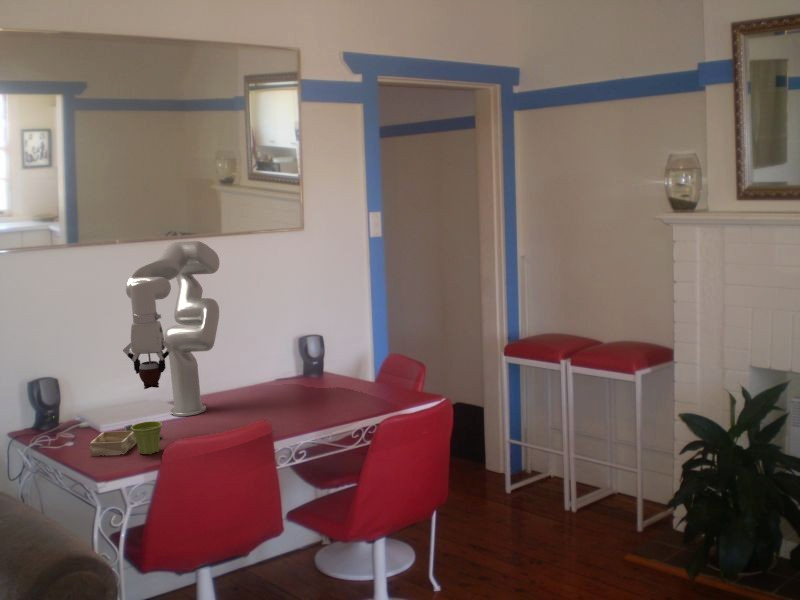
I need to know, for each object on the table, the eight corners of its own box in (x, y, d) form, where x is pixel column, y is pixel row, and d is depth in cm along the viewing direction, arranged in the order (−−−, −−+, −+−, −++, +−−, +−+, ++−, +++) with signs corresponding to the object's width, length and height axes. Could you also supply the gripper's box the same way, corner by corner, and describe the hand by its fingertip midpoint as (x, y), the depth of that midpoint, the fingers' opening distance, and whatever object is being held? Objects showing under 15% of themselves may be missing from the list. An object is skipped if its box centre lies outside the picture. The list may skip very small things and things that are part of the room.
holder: (104, 443, 306) (103, 431, 306) (136, 442, 306) (135, 430, 305) (90, 455, 295) (89, 443, 294) (124, 454, 294) (122, 442, 293)
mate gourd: (151, 390, 303) (147, 344, 301) (133, 388, 307) (129, 343, 305) (168, 384, 310) (163, 339, 307) (150, 382, 314) (146, 338, 311)
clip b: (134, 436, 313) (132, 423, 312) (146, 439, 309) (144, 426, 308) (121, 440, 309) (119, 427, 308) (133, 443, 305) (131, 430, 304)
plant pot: (137, 448, 300) (134, 422, 298) (167, 446, 300) (164, 419, 299) (131, 458, 291) (128, 431, 289) (161, 455, 291) (159, 428, 290)
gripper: (174, 315, 308) (179, 368, 311) (122, 317, 309) (127, 370, 312) (168, 319, 301) (173, 373, 304) (114, 322, 301) (120, 376, 304)
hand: (150, 371), depth 308 cm, fingers closed on mate gourd, 7 cm apart
